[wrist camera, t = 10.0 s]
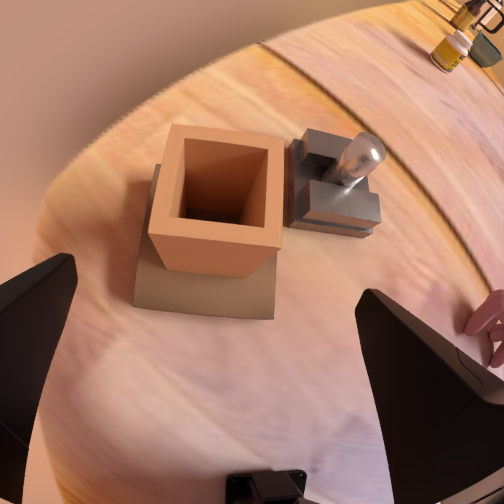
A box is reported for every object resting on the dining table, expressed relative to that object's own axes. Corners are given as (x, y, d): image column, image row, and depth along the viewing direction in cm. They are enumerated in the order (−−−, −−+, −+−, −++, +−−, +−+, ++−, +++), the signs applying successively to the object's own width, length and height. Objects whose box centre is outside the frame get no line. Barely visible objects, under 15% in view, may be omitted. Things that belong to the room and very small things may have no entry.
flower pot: (485, 66, 50) (500, 51, 41) (486, 74, 47) (503, 59, 39) (465, 46, 50) (480, 30, 41) (465, 53, 47) (481, 36, 38)
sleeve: (245, 278, 19) (281, 248, 11) (167, 270, 18) (147, 232, 10) (250, 205, 20) (284, 139, 12) (178, 197, 19) (171, 124, 11)
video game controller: (490, 345, 27) (530, 321, 22) (492, 373, 23) (536, 349, 18) (460, 305, 27) (505, 275, 22) (461, 334, 23) (513, 303, 18)
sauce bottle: (450, 21, 56) (476, -9, 37) (463, 33, 56) (490, 3, 37) (447, 21, 54) (474, -11, 35) (460, 34, 54) (488, 2, 35)
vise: (363, 238, 24) (419, 207, 17) (287, 227, 23) (328, 186, 16) (356, 163, 26) (400, 120, 19) (288, 147, 25) (319, 92, 17)
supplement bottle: (446, 77, 37) (474, 48, 28) (426, 57, 37) (452, 27, 28) (450, 71, 39) (476, 45, 29) (431, 53, 39) (455, 25, 30)
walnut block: (264, 319, 21) (273, 319, 18) (140, 308, 19) (132, 306, 17) (270, 192, 23) (279, 178, 21) (159, 179, 22) (156, 163, 19)
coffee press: (461, 19, 65) (491, -16, 36) (454, 9, 70) (481, -23, 41) (487, 42, 67) (518, 10, 38) (479, 31, 71) (507, 0, 43)
